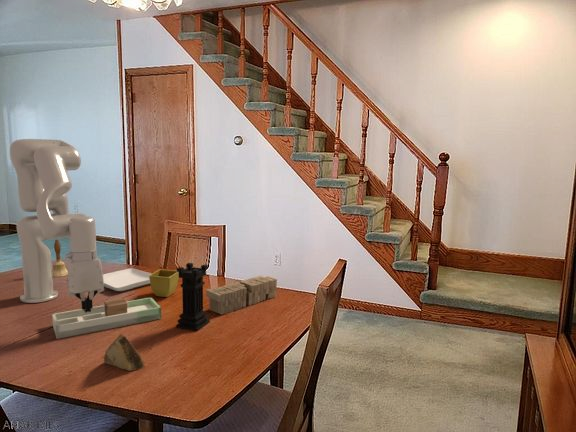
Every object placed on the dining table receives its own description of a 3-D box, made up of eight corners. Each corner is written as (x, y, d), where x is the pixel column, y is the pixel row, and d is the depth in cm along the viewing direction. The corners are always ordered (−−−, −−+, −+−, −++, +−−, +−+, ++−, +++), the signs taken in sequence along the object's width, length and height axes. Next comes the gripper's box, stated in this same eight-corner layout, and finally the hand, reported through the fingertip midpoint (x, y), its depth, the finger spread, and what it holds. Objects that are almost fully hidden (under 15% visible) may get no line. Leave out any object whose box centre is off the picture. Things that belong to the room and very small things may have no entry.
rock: (91, 356, 119) (103, 366, 111) (109, 327, 122) (121, 334, 114) (125, 370, 125) (139, 380, 117) (141, 341, 128) (155, 350, 120)
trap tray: (52, 325, 144) (51, 313, 143) (151, 307, 161) (151, 297, 160) (56, 339, 134) (56, 326, 133) (161, 318, 151) (161, 307, 151)
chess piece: (209, 322, 149) (209, 264, 146) (197, 331, 142) (196, 271, 139) (189, 318, 152) (188, 262, 149) (176, 327, 145) (175, 268, 141)
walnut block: (104, 313, 149) (104, 300, 149) (123, 310, 153) (122, 297, 152) (108, 319, 144) (107, 306, 144) (127, 316, 148) (127, 303, 147)
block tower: (263, 294, 181) (204, 310, 160) (263, 274, 180) (205, 288, 159) (276, 299, 176) (218, 316, 155) (277, 278, 175) (218, 293, 154)
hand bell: (55, 278, 192) (53, 242, 190) (45, 275, 197) (43, 240, 194) (73, 274, 199) (71, 239, 196) (63, 270, 203) (61, 237, 201)
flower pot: (169, 299, 170) (169, 277, 168) (149, 297, 171) (148, 275, 170) (179, 292, 178) (179, 270, 177) (159, 290, 180) (159, 269, 178)
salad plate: (131, 274, 202) (131, 266, 202) (161, 283, 190) (161, 275, 189) (87, 285, 185) (87, 277, 185) (117, 296, 173) (117, 288, 172)
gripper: (59, 261, 133) (63, 319, 136) (111, 255, 141) (114, 310, 144) (56, 256, 139) (60, 311, 142) (106, 250, 147) (109, 303, 150)
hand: (87, 310), depth 143 cm, fingers closed
